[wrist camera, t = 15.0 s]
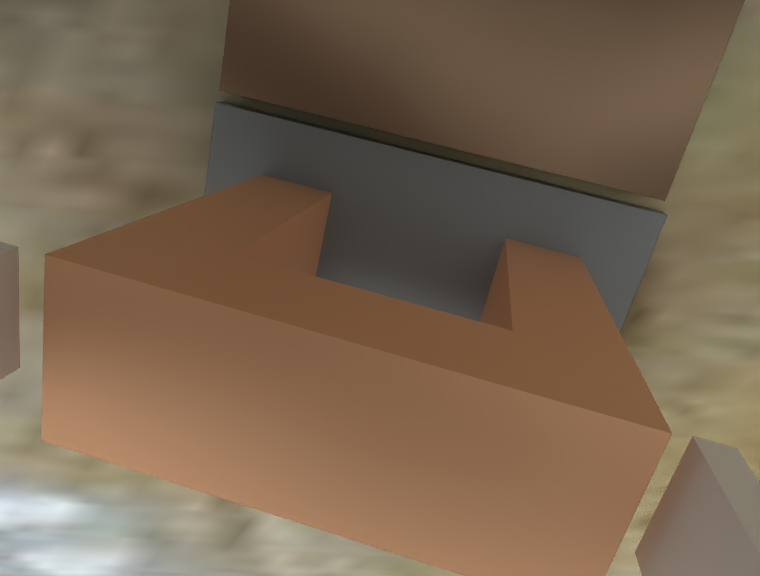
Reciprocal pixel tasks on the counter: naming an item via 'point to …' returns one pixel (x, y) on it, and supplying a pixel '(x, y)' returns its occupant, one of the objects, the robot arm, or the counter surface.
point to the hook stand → (496, 75)
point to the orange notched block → (351, 388)
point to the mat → (431, 214)
